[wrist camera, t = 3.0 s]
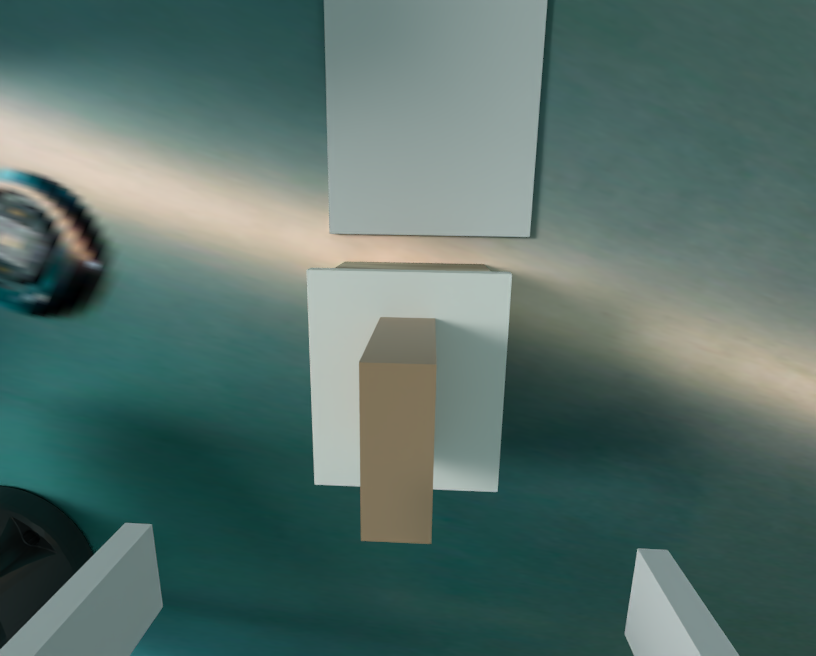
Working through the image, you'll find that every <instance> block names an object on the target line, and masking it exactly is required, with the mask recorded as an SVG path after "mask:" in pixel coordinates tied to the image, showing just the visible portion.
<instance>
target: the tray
mask: <svg viewBox="0 0 816 656" xmlns="http://www.w3.org/2000/svg"><path fill="white" fill-rule="evenodd" d="M546 13H547V0H324V26H325V67H326V107H327V147H328V188H329V228H330V234H386V235H443V236H501V237H530V226H531V213H532V200H533V186H534V173H535V160H536V146H537V133H538V119H539V106H540V93H541V79H542V66H543V53H544V39H545V26H546Z"/></svg>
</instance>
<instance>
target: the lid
mask: <svg viewBox="0 0 816 656" xmlns="http://www.w3.org/2000/svg"><path fill="white" fill-rule="evenodd" d="M511 284H512V274H511V273H510V272H495V271H446V270H397V269H348V268H310V269H308V270H307V295H308V322H309V349H310V376H311V403H312V430H313V457H314V484H315V485H336V486H360V505H361V541H376V542H398V543H420V544H431V534H432V501H433V489H436V490H461V491H486V492H498V477H499V462H500V447H501V432H502V417H503V402H504V388H505V373H506V358H507V343H508V328H509V313H510V298H511Z"/></svg>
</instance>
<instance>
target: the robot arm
mask: <svg viewBox="0 0 816 656" xmlns="http://www.w3.org/2000/svg"><path fill="white" fill-rule="evenodd" d="M162 608H163V603H162V595H161V588H160V580H159V573H158V565H157V558H156V550H155V543H154V535H153V528H152V524H138V523H125V524H124V525H123V526H122V527H121V528H120V529H119V530H118V531H117V532H116V533H115V534H114V535H113V536H112V537H111V538H110V539H109V540H108V541H107V542H106V543H105V544H104V545H103V546H102V547H101V548H100V549H99V550H98V551H97V552H96V553H95V554H94V555H93V554H92V551H91V549H90V546H89V544H88V542H87V541H86V539H85V537H84V536H83V534H82V533H81V531H80V530H79V529H78V527H77V526H76V525H75V524H74V523H73V522H72V521H71V520H70V519H69V518H68V517H67V516H66V515H65V514H64V513H63V512H62V511H60V510H59V509H58V508H56V507H55V506H54V505H52V504H50V503H49V502H47V501H45V500H44V499H42V498H40V497H38V496H36V495H33V494H31V493H28V492H25V491H23V490H19V489H15V488H10V487H4V486H0V656H130V654H131V653H132V651H133V650H134V648H135V647H136V646H137V644H138V643H139V641H140V640H141V638H142V637H143V635H144V634H145V632H146V631H147V629H148V628H149V627H150V625H151V624H152V622H153V621H154V619H155V618H156V616H157V615H158V613H159V612H160V610H161V609H162ZM625 636H626V638H627V641H628V643H629V645H630V647H631V650H632V652H633V654H634V656H739V655H738V653H737V652H736V650H735V649H734V647H733V646H732V644H731V643H730V641H729V640H728V638H727V637H726V635H725V634H724V632H723V631H722V630H721V628H720V627H719V625H718V624H717V622H716V621H715V619H714V618H713V616H712V615H711V613H710V612H709V610H708V609H707V607H706V606H705V604H704V603H703V601H702V600H701V599H700V597H699V596H698V594H697V593H696V591H695V590H694V588H693V587H692V585H691V584H690V582H689V581H688V579H687V578H686V576H685V575H684V573H683V572H682V571H681V569H680V568H679V566H678V565H677V563H676V562H675V560H674V559H673V557H672V556H671V554H670V553H669V551H668V550H658V549H637V556H636V562H635V569H634V575H633V582H632V589H631V595H630V602H629V608H628V615H627V621H626V628H625Z"/></svg>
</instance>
